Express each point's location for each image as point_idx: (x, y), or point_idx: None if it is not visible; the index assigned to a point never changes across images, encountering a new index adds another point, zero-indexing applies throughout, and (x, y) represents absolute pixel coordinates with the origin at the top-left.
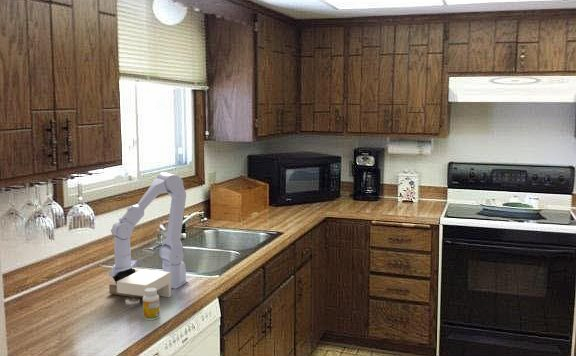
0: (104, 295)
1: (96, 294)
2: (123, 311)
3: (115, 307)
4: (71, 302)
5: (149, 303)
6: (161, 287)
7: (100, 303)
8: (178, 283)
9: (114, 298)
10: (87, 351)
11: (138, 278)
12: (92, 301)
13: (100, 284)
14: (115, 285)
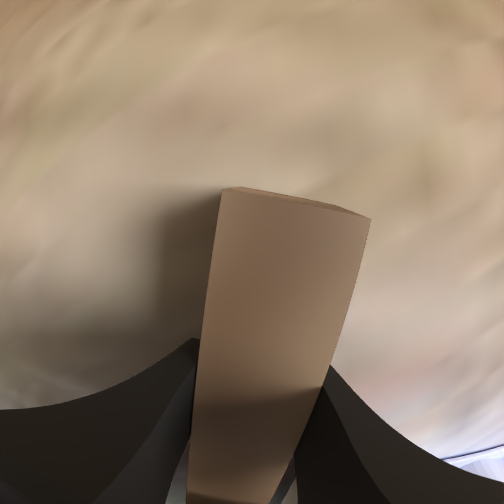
0: (212, 140)
1: (231, 46)
2: (17, 404)
3: (25, 357)
4: (44, 10)
5: None
6: None
7: (33, 224)
8: None
9: (150, 290)
10: None
11: None
12: (54, 129)
13: (481, 12)
14: (203, 319)
